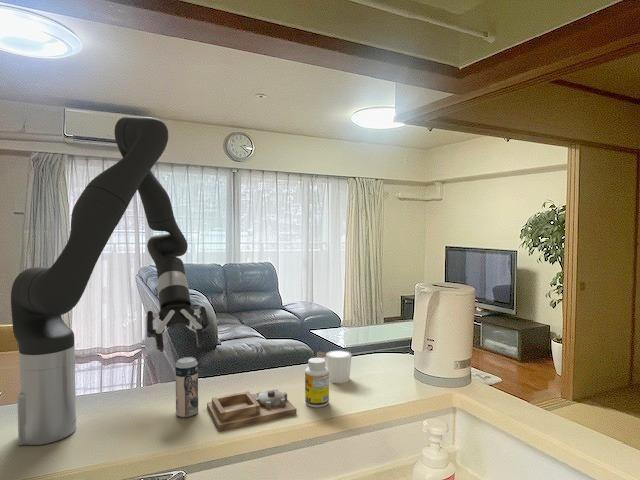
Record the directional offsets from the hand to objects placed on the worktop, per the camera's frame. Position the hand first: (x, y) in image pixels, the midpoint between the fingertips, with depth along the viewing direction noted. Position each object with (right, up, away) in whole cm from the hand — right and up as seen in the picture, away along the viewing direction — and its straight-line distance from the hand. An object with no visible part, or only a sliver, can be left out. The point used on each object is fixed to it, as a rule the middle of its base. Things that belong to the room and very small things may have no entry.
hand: (181, 347), depth 98 cm
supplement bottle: (+32, -13, -1) cm, 35 cm away
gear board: (+17, -13, -5) cm, 22 cm away
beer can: (+3, -13, -6) cm, 15 cm away
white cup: (+38, -12, +14) cm, 42 cm away
